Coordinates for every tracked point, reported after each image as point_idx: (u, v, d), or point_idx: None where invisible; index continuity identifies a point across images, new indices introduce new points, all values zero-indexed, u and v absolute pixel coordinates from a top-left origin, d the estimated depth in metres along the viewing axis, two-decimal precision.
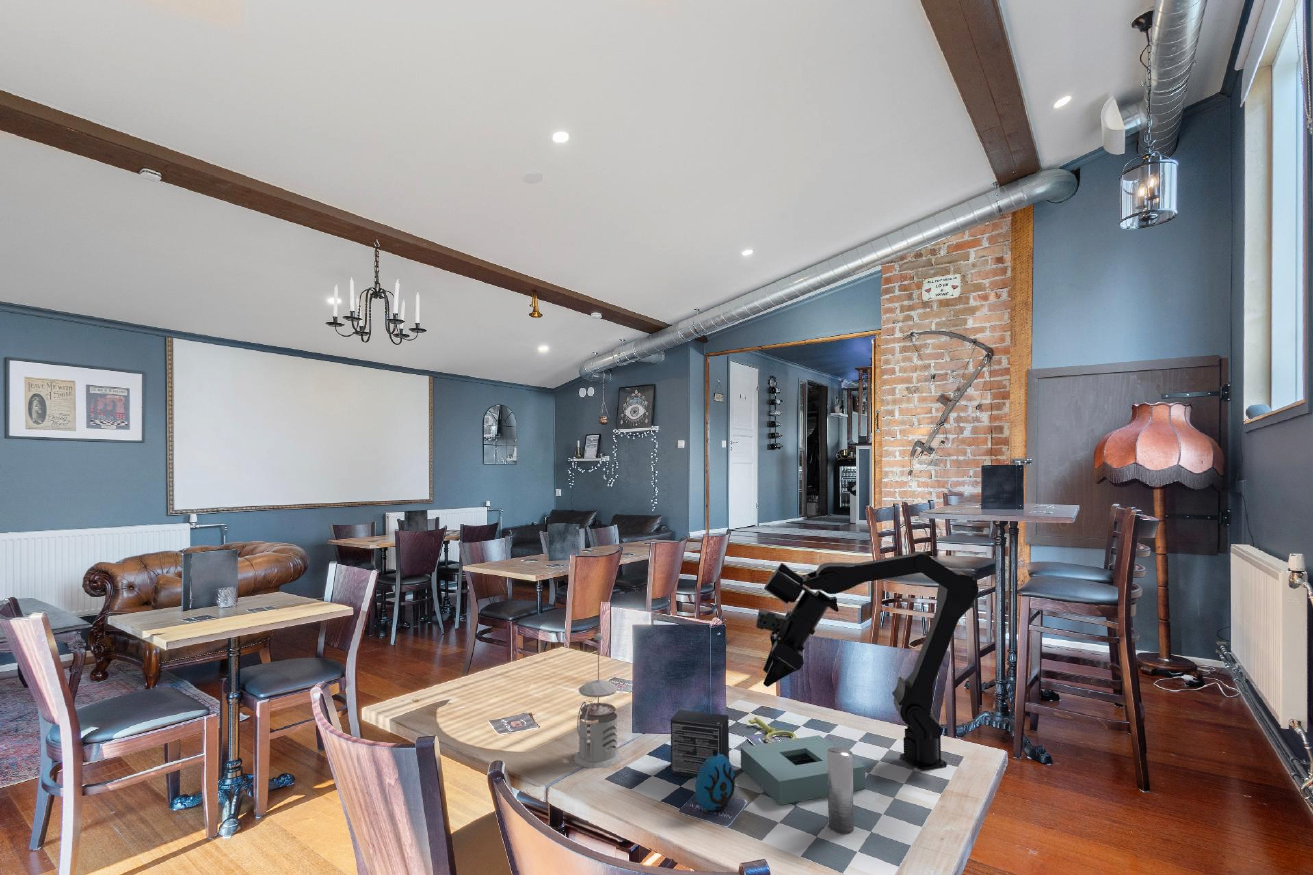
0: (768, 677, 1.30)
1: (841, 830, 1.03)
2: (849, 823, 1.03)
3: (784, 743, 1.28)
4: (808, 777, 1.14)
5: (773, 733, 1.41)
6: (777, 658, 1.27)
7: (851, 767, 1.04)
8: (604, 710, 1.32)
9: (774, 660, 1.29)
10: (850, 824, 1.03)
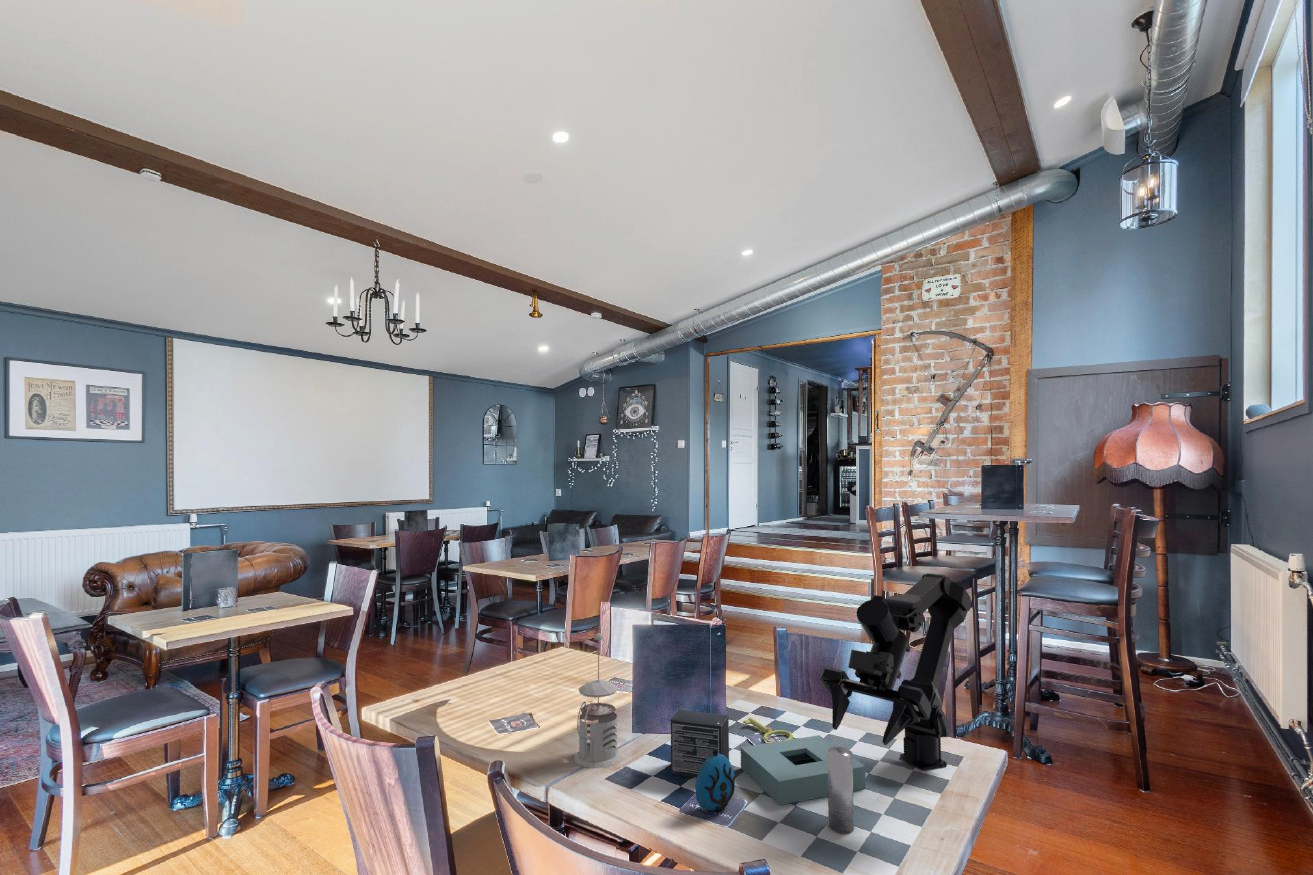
0: (891, 733, 1.08)
1: (841, 830, 1.03)
2: (849, 823, 1.03)
3: (784, 743, 1.28)
4: (808, 777, 1.14)
5: (770, 733, 1.41)
6: (913, 707, 1.08)
7: (851, 767, 1.04)
8: (604, 710, 1.32)
9: (902, 710, 1.08)
10: (850, 824, 1.03)
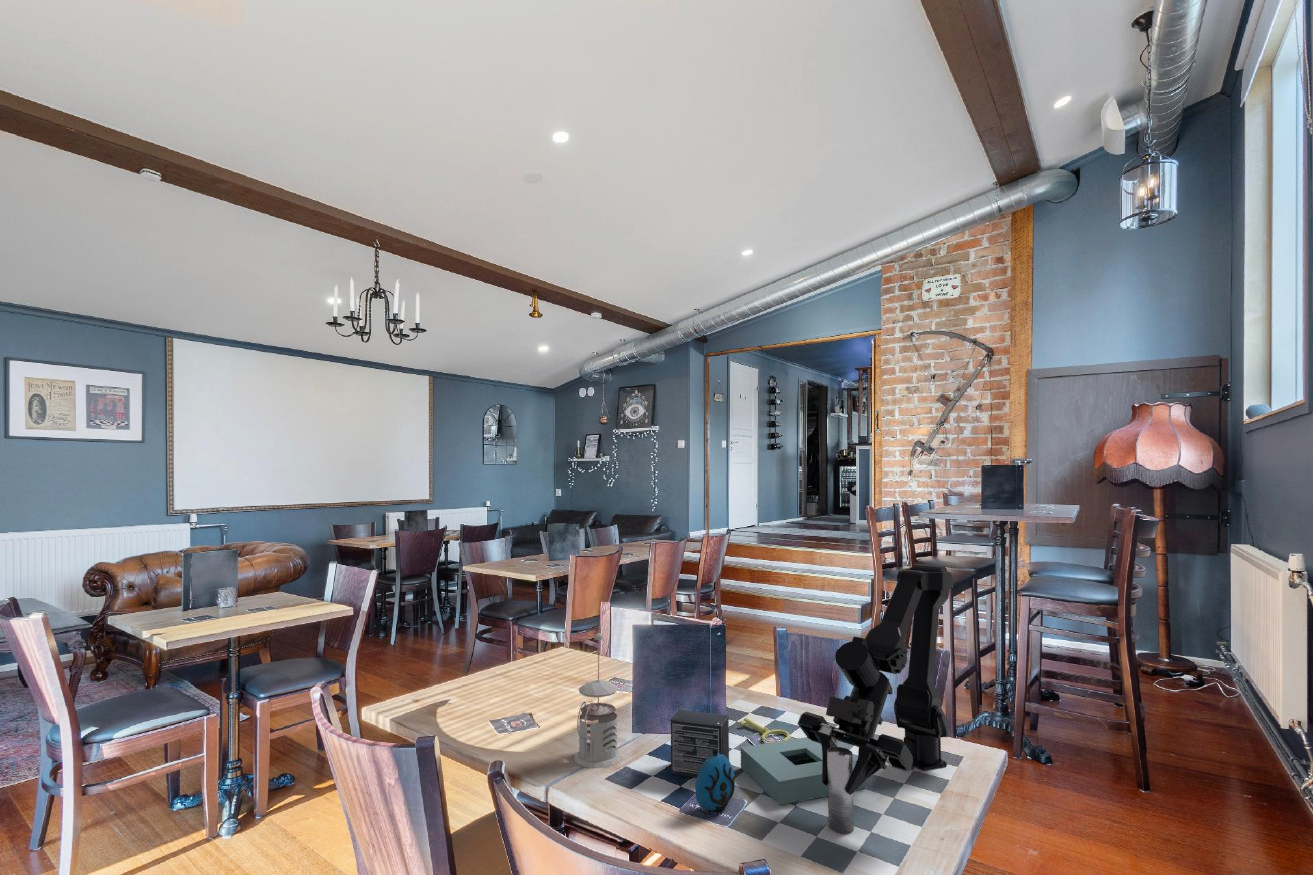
0: (855, 782, 1.03)
1: (841, 830, 1.03)
2: (849, 823, 1.03)
3: (784, 743, 1.28)
4: (808, 777, 1.14)
5: (767, 733, 1.41)
6: (878, 755, 1.04)
7: (851, 767, 1.04)
8: (604, 710, 1.32)
9: None
10: (850, 824, 1.03)
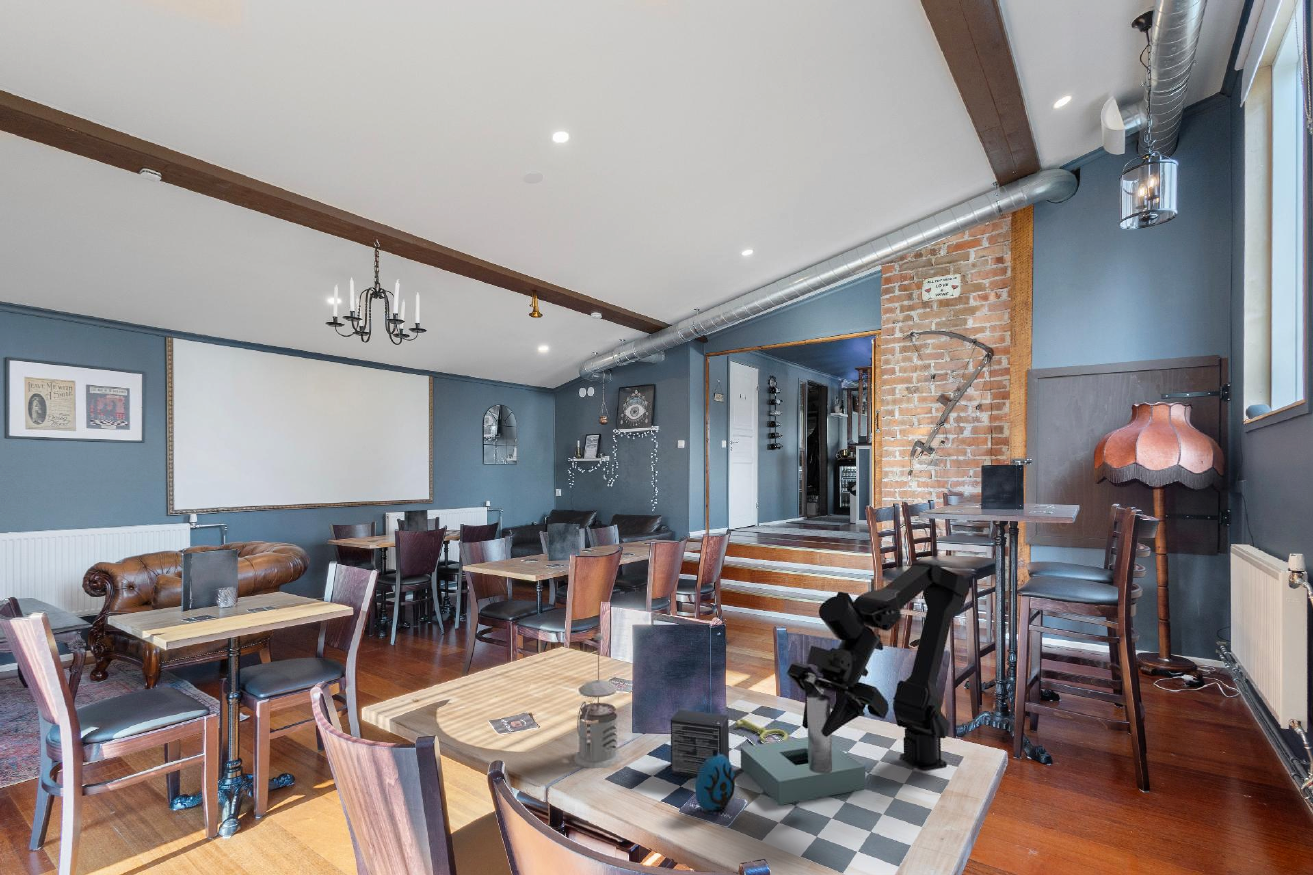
0: (831, 725, 1.09)
1: (818, 770, 1.09)
2: (826, 763, 1.09)
3: (784, 743, 1.28)
4: (808, 777, 1.14)
5: (765, 733, 1.41)
6: (853, 701, 1.09)
7: (828, 712, 1.10)
8: (604, 710, 1.32)
9: None
10: (827, 765, 1.09)
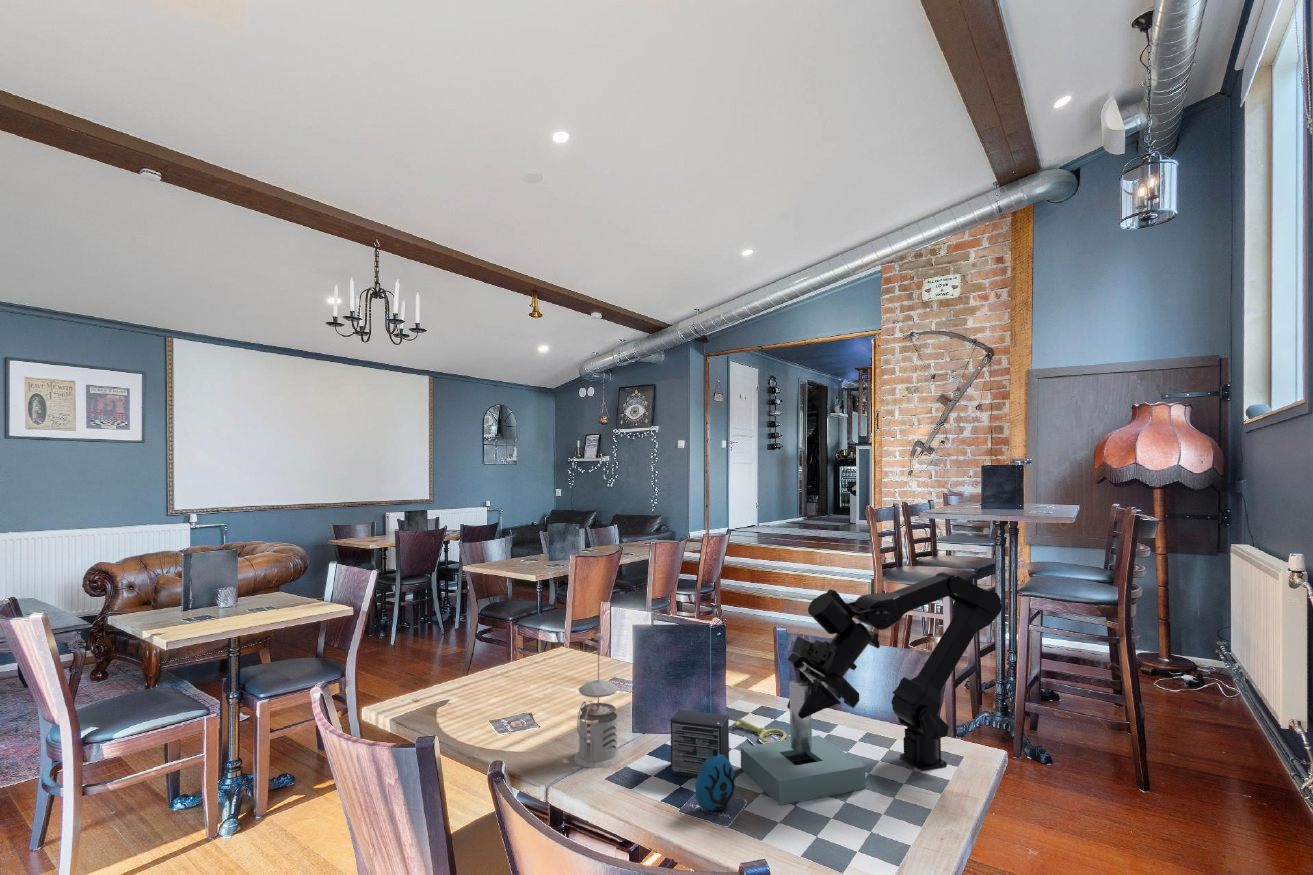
0: (806, 708, 1.20)
1: (795, 747, 1.21)
2: (802, 743, 1.21)
3: (784, 743, 1.28)
4: (808, 777, 1.14)
5: (764, 733, 1.41)
6: (826, 689, 1.18)
7: (805, 696, 1.21)
8: (604, 710, 1.32)
9: (818, 691, 1.20)
10: (803, 744, 1.21)
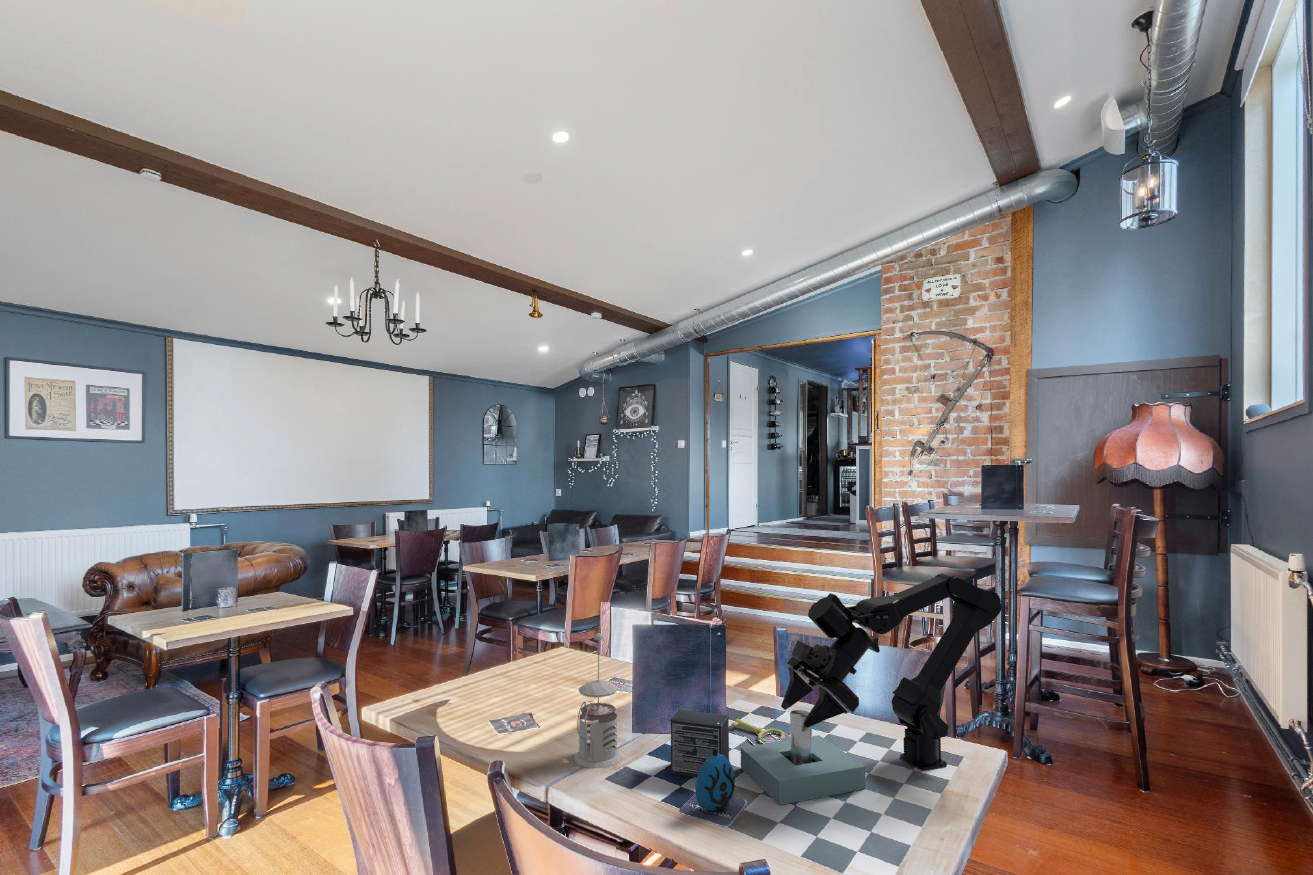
0: (812, 717, 1.18)
1: None
2: None
3: (784, 743, 1.28)
4: (808, 777, 1.14)
5: (763, 733, 1.41)
6: (832, 698, 1.16)
7: (806, 727, 1.21)
8: (604, 710, 1.32)
9: (825, 699, 1.17)
10: None
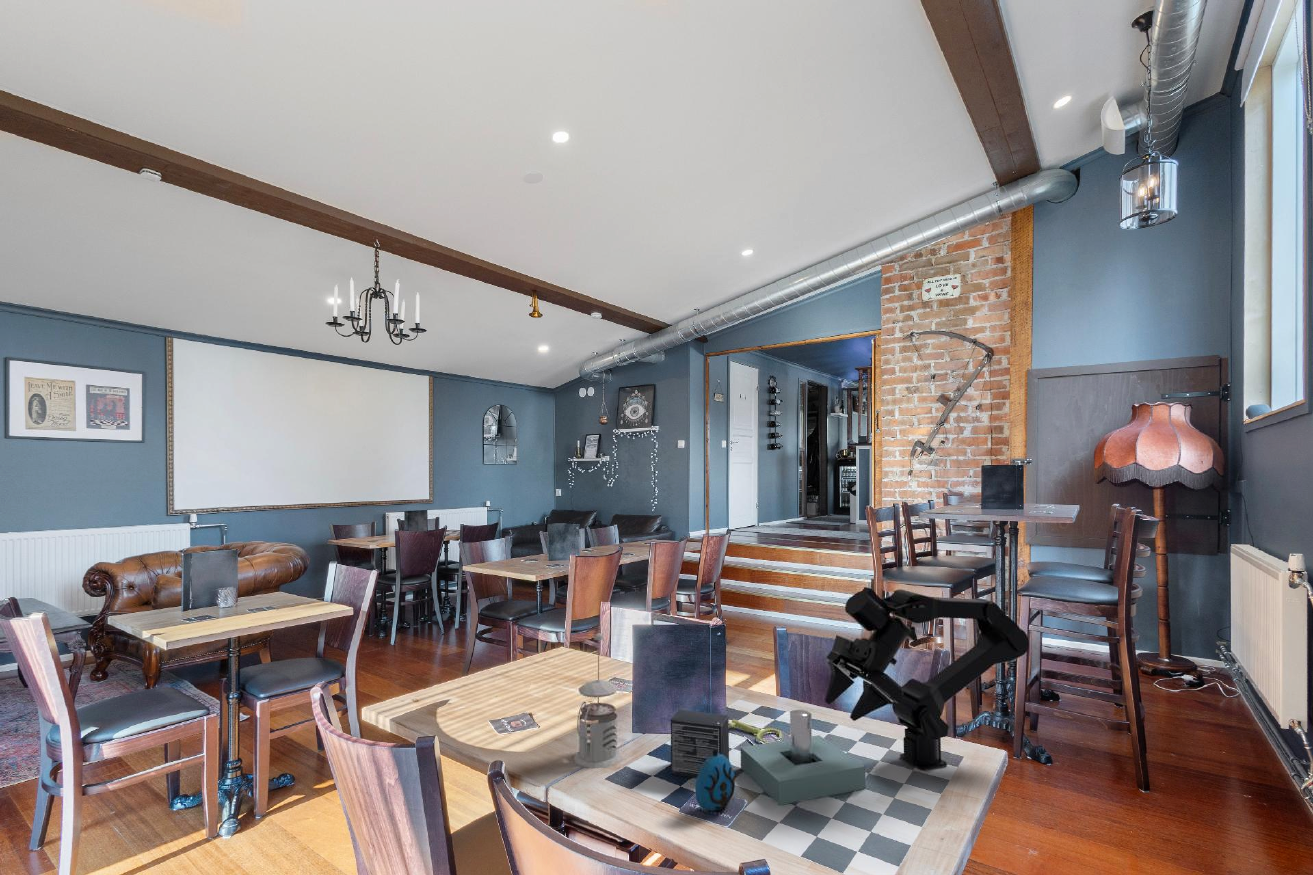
0: (858, 710, 1.20)
1: None
2: None
3: (784, 743, 1.28)
4: (808, 777, 1.14)
5: (760, 733, 1.41)
6: (877, 690, 1.18)
7: (806, 727, 1.21)
8: (604, 710, 1.32)
9: (869, 692, 1.19)
10: None
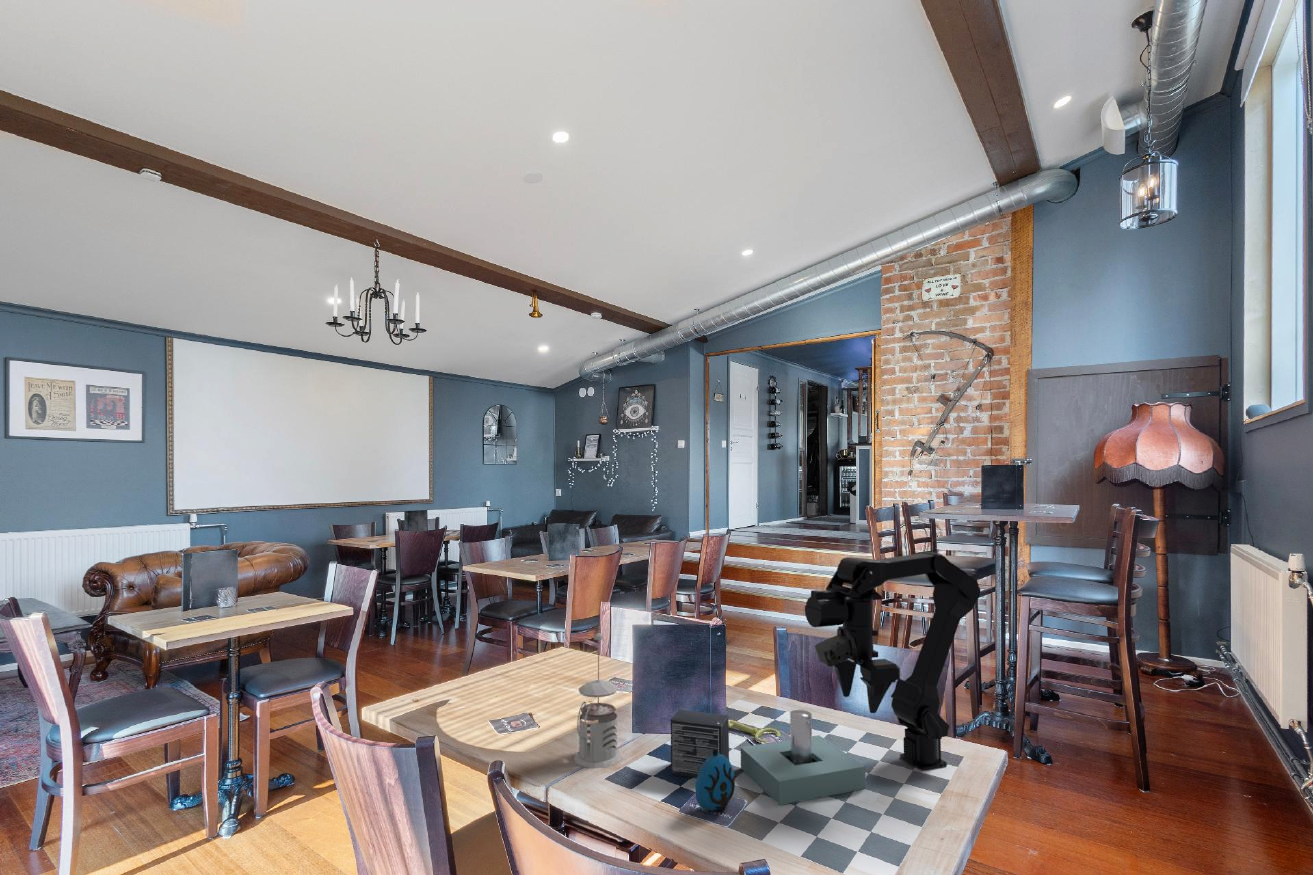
0: (873, 704, 1.20)
1: None
2: None
3: (784, 743, 1.28)
4: (808, 777, 1.14)
5: (759, 733, 1.41)
6: (876, 682, 1.17)
7: (806, 727, 1.21)
8: (604, 710, 1.32)
9: (871, 685, 1.19)
10: None
